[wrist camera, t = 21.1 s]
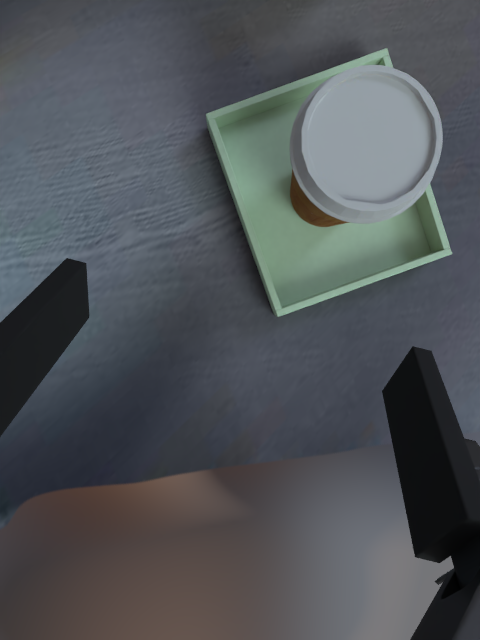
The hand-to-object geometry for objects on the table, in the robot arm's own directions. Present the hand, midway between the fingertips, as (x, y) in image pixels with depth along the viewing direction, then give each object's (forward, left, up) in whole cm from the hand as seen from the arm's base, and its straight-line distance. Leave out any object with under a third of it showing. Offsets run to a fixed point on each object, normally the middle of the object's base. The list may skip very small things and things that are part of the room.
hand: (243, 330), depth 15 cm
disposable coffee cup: (-9, +10, -20) cm, 24 cm away
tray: (-9, +10, -21) cm, 25 cm away
